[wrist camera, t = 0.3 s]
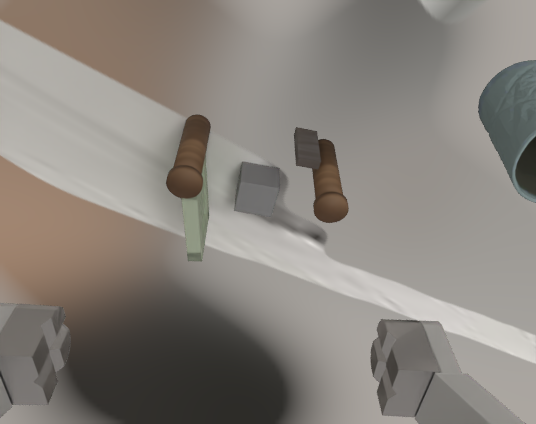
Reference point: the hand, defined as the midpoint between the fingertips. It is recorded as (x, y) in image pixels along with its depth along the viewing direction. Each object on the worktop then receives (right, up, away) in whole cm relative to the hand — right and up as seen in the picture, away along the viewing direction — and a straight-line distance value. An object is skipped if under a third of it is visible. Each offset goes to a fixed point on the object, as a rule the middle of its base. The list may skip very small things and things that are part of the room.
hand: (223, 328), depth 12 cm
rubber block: (0, +7, +45) cm, 46 cm away
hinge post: (-7, +13, +40) cm, 43 cm away
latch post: (+7, +11, +42) cm, 44 cm away
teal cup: (+28, +15, +38) cm, 49 cm away
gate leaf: (-7, +7, +44) cm, 45 cm away
